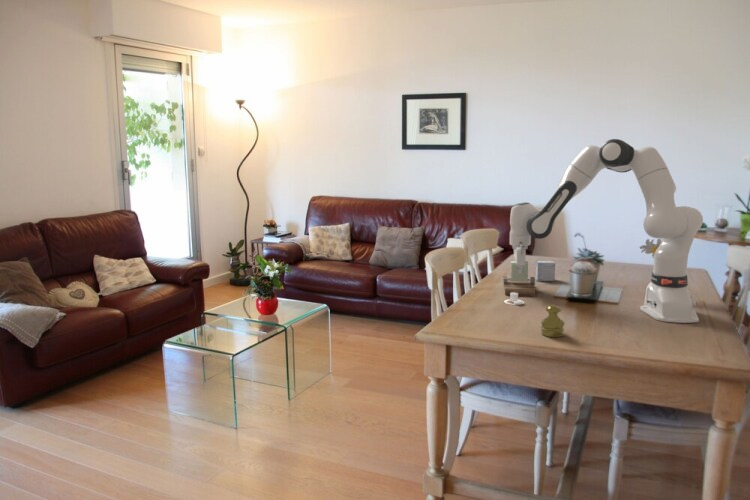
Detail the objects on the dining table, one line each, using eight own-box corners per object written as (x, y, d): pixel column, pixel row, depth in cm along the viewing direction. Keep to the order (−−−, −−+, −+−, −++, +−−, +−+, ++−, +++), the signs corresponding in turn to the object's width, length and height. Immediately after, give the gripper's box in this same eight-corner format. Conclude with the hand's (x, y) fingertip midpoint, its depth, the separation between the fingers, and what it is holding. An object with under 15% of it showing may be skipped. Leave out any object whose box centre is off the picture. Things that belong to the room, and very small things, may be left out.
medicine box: (552, 279, 269) (553, 260, 268) (554, 281, 265) (555, 262, 263) (535, 278, 270) (536, 260, 268) (537, 281, 266) (537, 262, 264)
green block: (527, 281, 247) (528, 263, 246) (510, 281, 248) (511, 263, 247) (527, 279, 251) (527, 261, 250) (510, 279, 252) (510, 261, 251)
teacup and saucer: (524, 306, 227) (525, 296, 227) (504, 306, 229) (504, 296, 228) (523, 300, 236) (524, 291, 235) (503, 300, 238) (504, 290, 237)
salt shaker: (567, 333, 194) (568, 305, 193) (557, 339, 189) (559, 310, 187) (547, 329, 199) (548, 301, 197) (537, 334, 194) (538, 306, 192)
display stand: (535, 296, 241) (536, 283, 240) (503, 295, 243) (504, 282, 242) (532, 285, 258) (532, 273, 257) (502, 284, 261) (503, 272, 260)
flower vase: (686, 302, 228) (691, 243, 223) (637, 299, 234) (641, 241, 229) (680, 294, 239) (685, 237, 235) (634, 291, 245) (638, 236, 241)
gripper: (529, 245, 236) (528, 277, 238) (526, 236, 256) (525, 267, 258) (513, 244, 237) (512, 277, 240) (511, 236, 257) (510, 266, 259)
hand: (519, 272), depth 249 cm, fingers closed on green block, 4 cm apart
